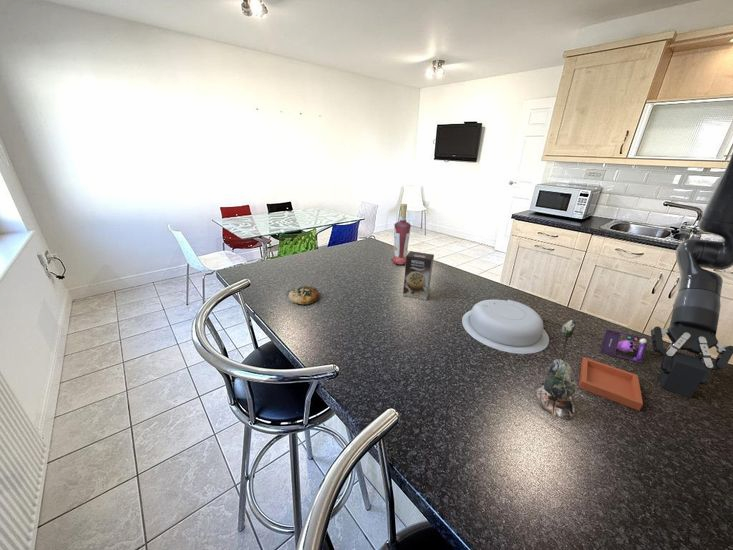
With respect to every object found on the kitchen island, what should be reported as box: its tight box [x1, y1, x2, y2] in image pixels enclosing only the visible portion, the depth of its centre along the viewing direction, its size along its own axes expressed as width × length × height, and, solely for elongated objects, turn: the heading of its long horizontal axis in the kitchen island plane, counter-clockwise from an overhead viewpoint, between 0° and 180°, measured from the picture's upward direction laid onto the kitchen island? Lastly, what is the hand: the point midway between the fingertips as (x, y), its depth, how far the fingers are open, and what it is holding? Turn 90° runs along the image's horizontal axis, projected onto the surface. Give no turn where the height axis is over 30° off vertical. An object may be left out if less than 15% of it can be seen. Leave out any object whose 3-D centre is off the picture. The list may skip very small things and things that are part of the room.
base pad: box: [578, 356, 644, 412], centre depth 70 cm, size 11×11×2 cm
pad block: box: [658, 351, 707, 399], centre depth 69 cm, size 5×5×8 cm
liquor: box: [392, 203, 412, 266], centre depth 134 cm, size 7×7×28 cm
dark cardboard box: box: [402, 250, 435, 301], centre depth 108 cm, size 9×6×16 cm
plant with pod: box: [534, 319, 578, 420], centre depth 61 cm, size 8×11×20 cm
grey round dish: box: [461, 299, 550, 355], centre depth 91 cm, size 25×25×6 cm
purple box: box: [599, 328, 650, 364], centre depth 81 cm, size 7×5×9 cm
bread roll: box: [288, 285, 320, 306], centre depth 106 cm, size 11×11×5 cm
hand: (683, 377), depth 67 cm, fingers closed on pad block, 5 cm apart
